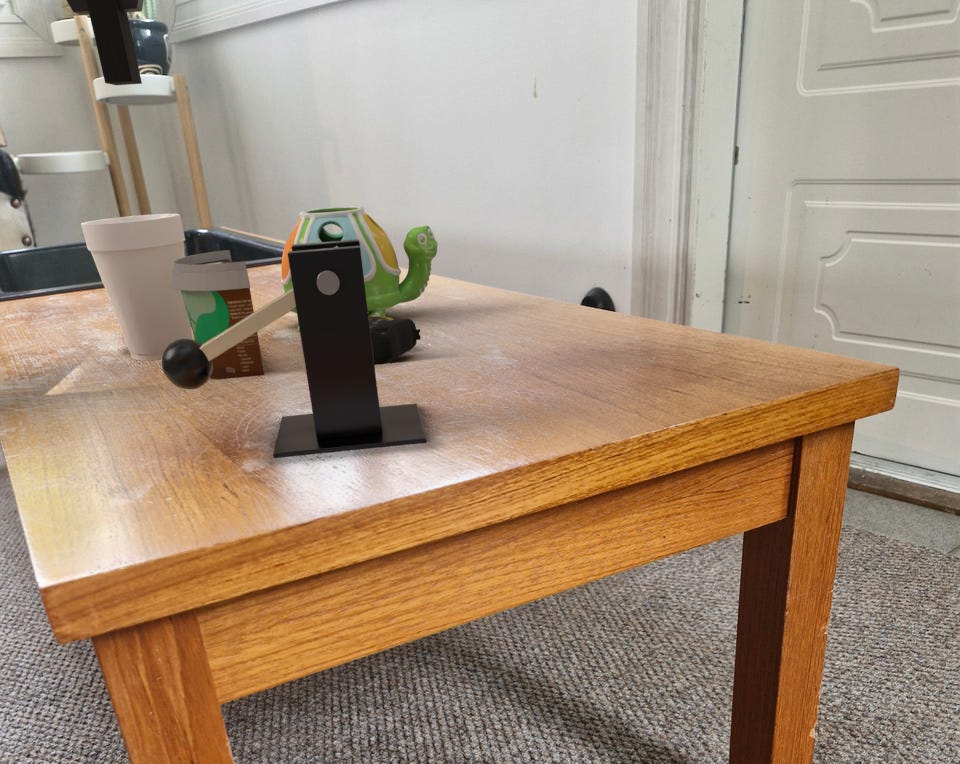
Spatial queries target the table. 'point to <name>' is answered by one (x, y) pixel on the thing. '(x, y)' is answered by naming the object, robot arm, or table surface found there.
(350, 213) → the turtle holder
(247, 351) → the food container
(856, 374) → the table surface
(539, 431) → the table surface
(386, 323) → the tape measure
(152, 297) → the foam cup
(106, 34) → the robot arm
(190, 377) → the lever
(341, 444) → the bracket
